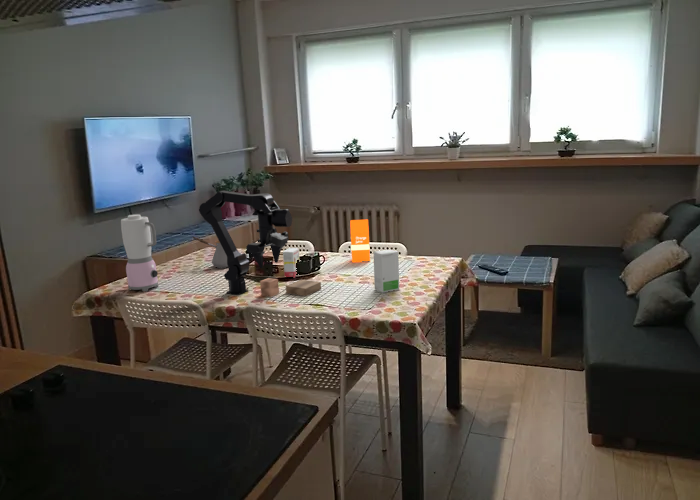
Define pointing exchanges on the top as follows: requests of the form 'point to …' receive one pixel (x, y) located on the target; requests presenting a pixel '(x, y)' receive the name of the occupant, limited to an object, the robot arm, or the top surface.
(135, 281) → the blender
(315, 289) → the tan square slab
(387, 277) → the skincare box
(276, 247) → the robot arm
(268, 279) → the terracotta cube
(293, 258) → the ink box
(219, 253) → the coffee pot
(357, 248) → the orange juice
